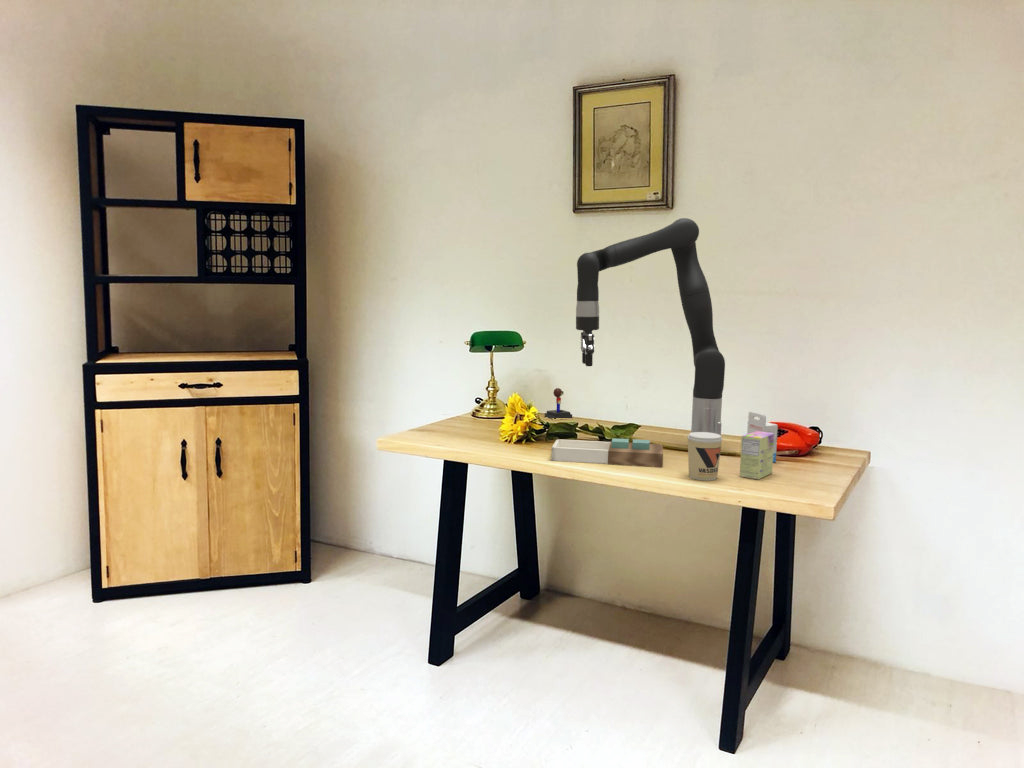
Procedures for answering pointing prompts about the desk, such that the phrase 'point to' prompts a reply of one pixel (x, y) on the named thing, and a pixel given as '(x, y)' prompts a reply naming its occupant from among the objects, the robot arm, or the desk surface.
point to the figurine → (558, 407)
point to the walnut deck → (637, 456)
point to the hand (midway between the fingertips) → (587, 364)
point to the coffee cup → (704, 455)
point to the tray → (580, 451)
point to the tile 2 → (641, 444)
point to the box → (756, 454)
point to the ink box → (762, 428)
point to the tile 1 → (620, 443)
